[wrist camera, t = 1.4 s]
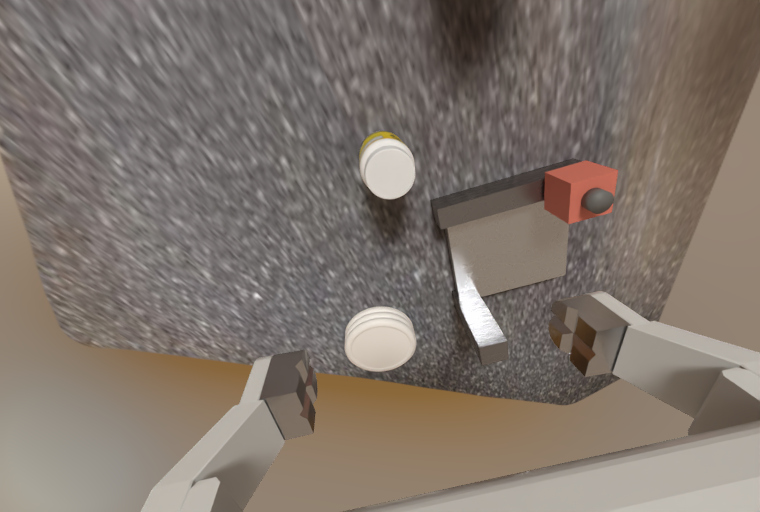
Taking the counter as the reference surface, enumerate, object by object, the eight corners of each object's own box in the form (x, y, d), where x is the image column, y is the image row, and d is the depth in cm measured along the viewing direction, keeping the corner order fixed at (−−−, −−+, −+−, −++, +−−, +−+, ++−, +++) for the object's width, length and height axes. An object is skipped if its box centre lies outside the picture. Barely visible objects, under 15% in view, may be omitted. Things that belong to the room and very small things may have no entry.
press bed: (573, 158, 31) (656, 184, 23) (564, 278, 40) (623, 331, 31) (430, 200, 32) (458, 240, 24) (451, 308, 41) (477, 366, 32)
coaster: (369, 293, 39) (371, 311, 36) (426, 321, 42) (431, 339, 39) (332, 339, 42) (331, 359, 39) (387, 362, 46) (389, 381, 43)
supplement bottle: (413, 160, 30) (431, 183, 23) (376, 186, 31) (382, 216, 24) (388, 119, 28) (399, 129, 21) (349, 148, 29) (347, 168, 22)
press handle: (585, 160, 28) (629, 173, 24) (582, 198, 30) (622, 217, 26) (544, 172, 28) (580, 187, 24) (544, 208, 30) (576, 229, 26)
